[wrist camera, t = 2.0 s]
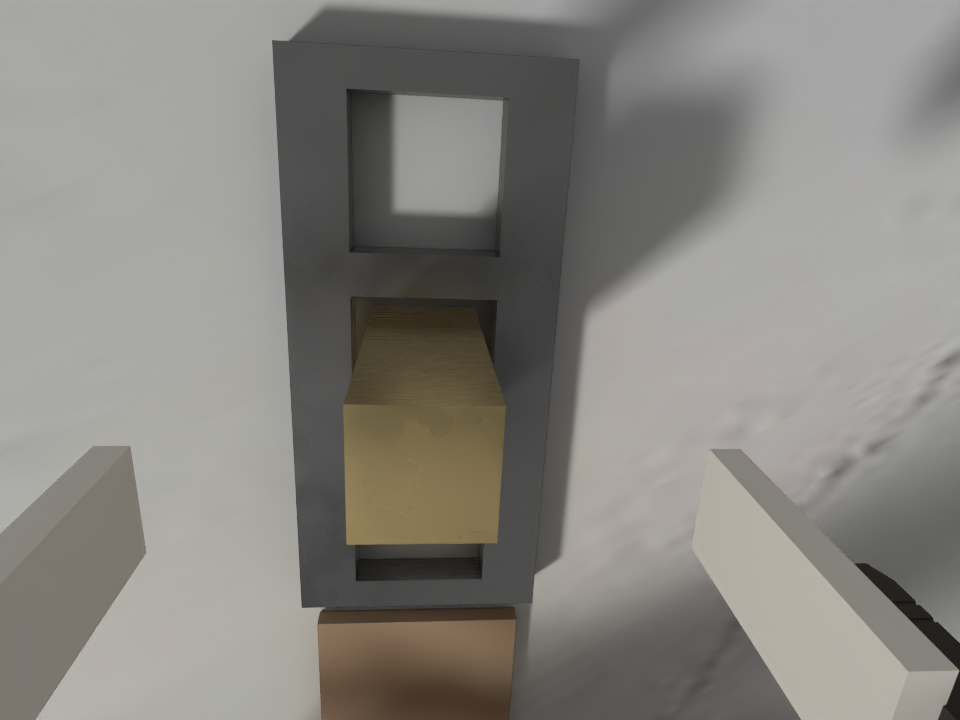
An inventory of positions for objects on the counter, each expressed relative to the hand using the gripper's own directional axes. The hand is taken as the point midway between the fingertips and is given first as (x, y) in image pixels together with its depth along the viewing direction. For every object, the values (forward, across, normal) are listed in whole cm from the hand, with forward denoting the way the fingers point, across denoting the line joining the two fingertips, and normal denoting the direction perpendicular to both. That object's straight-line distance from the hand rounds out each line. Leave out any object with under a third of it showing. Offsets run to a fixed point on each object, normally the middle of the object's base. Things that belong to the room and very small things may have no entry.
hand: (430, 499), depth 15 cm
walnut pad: (+11, 0, +18) cm, 21 cm away
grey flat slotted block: (+12, 0, 0) cm, 12 cm away
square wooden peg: (+12, 0, 0) cm, 12 cm away
